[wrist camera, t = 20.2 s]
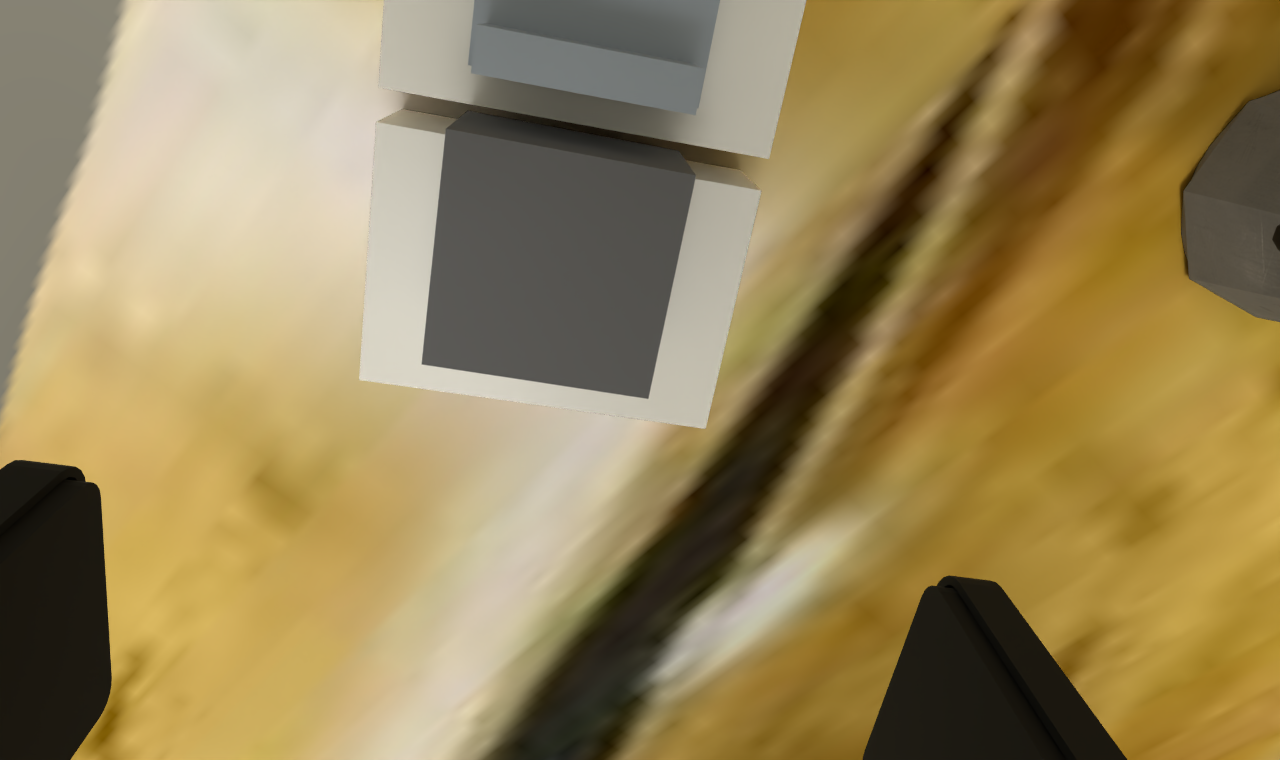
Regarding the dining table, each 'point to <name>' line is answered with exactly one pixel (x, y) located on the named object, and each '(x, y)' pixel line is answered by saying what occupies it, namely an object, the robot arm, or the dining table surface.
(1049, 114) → the dining table surface
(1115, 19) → the dining table surface
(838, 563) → the dining table surface
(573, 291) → the plug
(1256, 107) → the coffeepot
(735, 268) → the socket
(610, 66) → the plate
